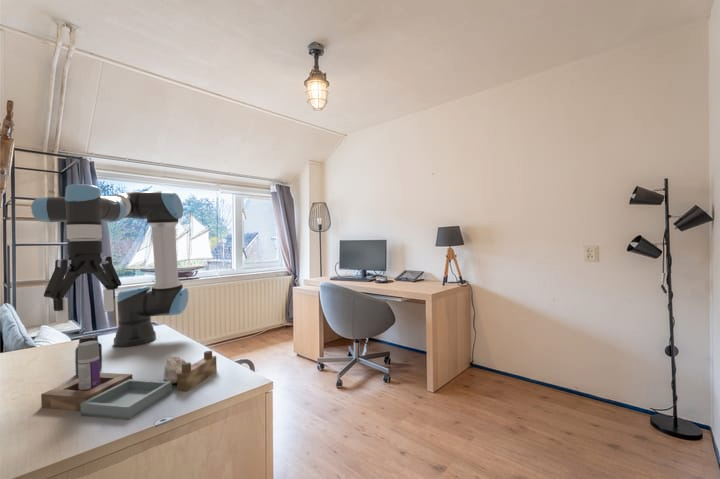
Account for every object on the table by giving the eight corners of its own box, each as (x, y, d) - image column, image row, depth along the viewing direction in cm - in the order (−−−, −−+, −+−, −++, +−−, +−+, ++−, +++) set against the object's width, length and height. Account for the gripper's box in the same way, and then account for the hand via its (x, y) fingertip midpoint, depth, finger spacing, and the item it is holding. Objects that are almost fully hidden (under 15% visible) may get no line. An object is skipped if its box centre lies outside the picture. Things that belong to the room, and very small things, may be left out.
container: (97, 390, 95) (95, 339, 95) (103, 394, 92) (101, 342, 92) (76, 397, 91) (75, 343, 91) (81, 401, 88) (80, 346, 88)
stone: (191, 383, 106) (188, 352, 110) (195, 376, 97) (191, 343, 101) (164, 390, 102) (161, 358, 106) (166, 384, 93) (163, 349, 96)
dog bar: (208, 370, 107) (207, 349, 107) (216, 371, 107) (216, 349, 107) (177, 390, 93) (176, 366, 93) (186, 391, 93) (185, 366, 93)
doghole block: (93, 383, 100) (93, 372, 100) (132, 385, 97) (132, 374, 97) (41, 407, 86) (41, 394, 86) (85, 410, 83) (85, 397, 83)
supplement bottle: (87, 377, 104) (85, 340, 104) (70, 376, 106) (68, 339, 106) (107, 368, 111) (106, 333, 111) (91, 367, 112) (90, 333, 112)
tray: (129, 389, 95) (129, 379, 95) (171, 392, 93) (171, 381, 93) (80, 415, 81) (80, 403, 81) (128, 419, 79) (128, 407, 79)
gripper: (113, 240, 104) (115, 307, 104) (22, 241, 80) (25, 328, 80) (133, 239, 103) (135, 307, 103) (46, 240, 79) (49, 329, 79)
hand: (87, 316), depth 91 cm, fingers open, 12 cm apart
